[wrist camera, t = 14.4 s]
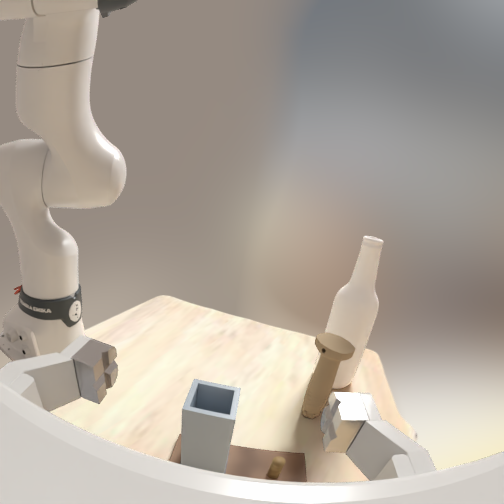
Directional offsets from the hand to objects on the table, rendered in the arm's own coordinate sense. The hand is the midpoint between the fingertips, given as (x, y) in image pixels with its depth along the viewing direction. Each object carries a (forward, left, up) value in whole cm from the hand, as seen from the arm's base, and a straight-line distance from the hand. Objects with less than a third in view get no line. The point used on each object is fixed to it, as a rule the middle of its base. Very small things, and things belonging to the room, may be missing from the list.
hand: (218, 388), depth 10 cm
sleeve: (-1, +15, -27) cm, 31 cm away
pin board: (+3, +15, -28) cm, 32 cm away
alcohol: (+20, +42, -28) cm, 54 cm away
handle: (+14, +30, -28) cm, 43 cm away
